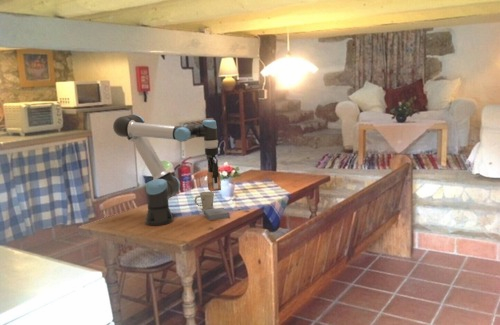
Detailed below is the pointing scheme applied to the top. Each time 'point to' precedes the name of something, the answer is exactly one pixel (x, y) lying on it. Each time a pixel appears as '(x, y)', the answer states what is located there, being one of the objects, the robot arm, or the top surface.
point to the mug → (206, 200)
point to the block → (210, 182)
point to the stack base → (216, 214)
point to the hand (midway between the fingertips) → (214, 187)
